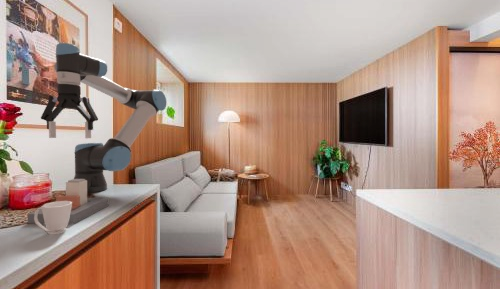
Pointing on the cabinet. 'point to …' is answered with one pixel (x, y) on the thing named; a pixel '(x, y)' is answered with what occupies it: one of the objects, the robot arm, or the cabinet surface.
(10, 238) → the cabinet surface
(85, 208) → the socket
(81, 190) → the plug
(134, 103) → the robot arm
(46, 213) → the cup
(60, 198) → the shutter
